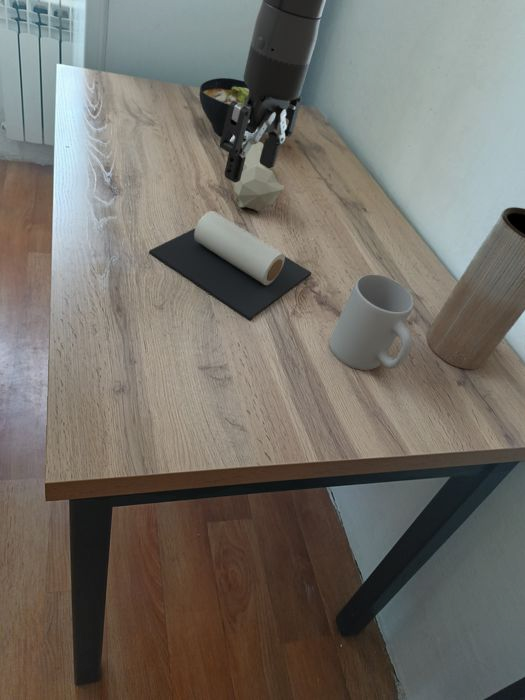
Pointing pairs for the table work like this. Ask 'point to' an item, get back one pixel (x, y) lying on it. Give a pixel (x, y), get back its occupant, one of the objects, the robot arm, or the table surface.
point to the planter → (484, 296)
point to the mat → (226, 275)
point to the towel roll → (239, 247)
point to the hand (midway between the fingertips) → (249, 172)
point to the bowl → (221, 100)
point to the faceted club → (256, 182)
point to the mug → (373, 324)
